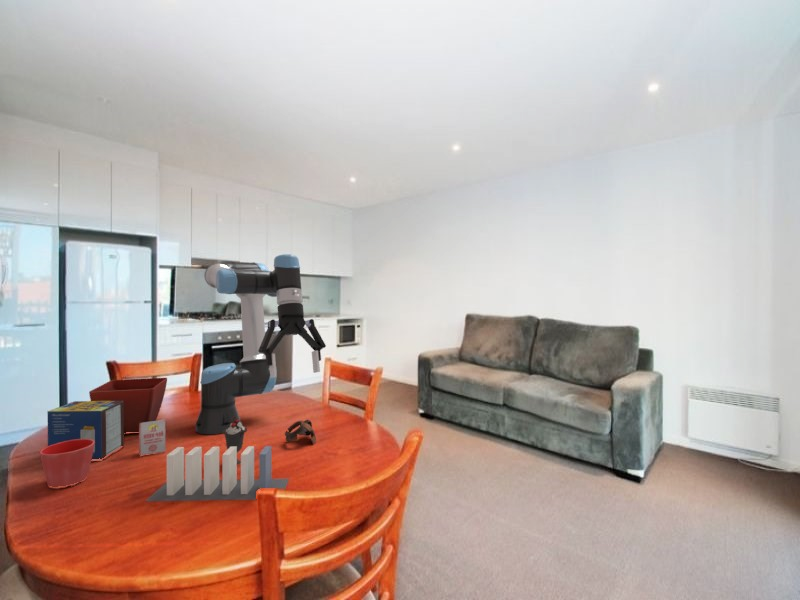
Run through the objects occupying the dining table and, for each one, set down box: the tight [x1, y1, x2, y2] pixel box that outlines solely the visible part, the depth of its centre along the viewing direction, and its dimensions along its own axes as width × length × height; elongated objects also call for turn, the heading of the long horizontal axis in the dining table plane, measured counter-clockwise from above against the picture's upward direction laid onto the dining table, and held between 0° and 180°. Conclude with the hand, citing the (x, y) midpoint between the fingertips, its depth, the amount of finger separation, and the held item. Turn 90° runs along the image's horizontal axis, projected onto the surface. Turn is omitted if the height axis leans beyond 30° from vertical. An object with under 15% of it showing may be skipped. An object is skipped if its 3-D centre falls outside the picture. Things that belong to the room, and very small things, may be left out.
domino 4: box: [221, 446, 238, 494], centre depth 95 cm, size 5×2×10 cm, turn 3°
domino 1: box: [166, 446, 185, 495], centre depth 94 cm, size 5×2×10 cm, turn 3°
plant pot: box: [88, 377, 168, 433], centre depth 137 cm, size 19×19×17 cm
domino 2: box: [184, 446, 203, 495], centre depth 95 cm, size 5×2×10 cm, turn 3°
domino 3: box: [203, 446, 220, 495], centre depth 95 cm, size 5×2×10 cm, turn 3°
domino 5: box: [240, 445, 255, 494], centre depth 95 cm, size 5×2×10 cm, turn 3°
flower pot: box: [39, 439, 95, 487], centre depth 99 cm, size 11×11×10 cm
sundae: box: [221, 416, 248, 466], centre depth 110 cm, size 7×7×15 cm
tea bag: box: [138, 419, 166, 456], centre depth 117 cm, size 4×7×10 cm, turn 121°
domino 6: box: [258, 445, 273, 489], centre depth 96 cm, size 5×2×10 cm, turn 3°
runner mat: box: [144, 478, 290, 502], centre depth 95 cm, size 10×32×1 cm, turn 93°
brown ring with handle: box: [284, 419, 317, 445], centre depth 128 cm, size 12×10×8 cm
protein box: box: [47, 400, 125, 459], centre depth 115 cm, size 10×15×16 cm
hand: (296, 374), depth 109 cm, fingers open, 13 cm apart
